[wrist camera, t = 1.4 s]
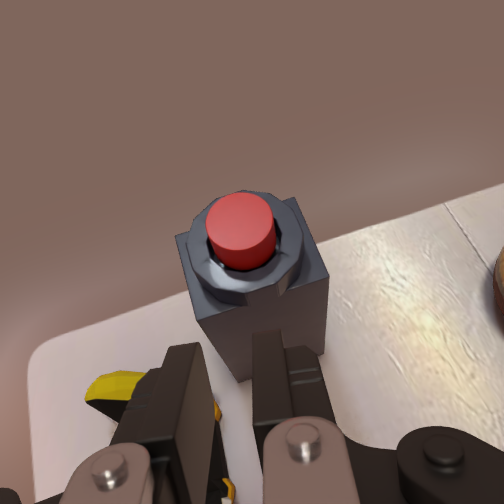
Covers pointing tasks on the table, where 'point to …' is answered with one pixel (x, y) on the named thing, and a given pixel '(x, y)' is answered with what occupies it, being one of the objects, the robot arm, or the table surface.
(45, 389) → the table surface
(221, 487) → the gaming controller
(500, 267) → the vase
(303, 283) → the button pillar
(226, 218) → the button
